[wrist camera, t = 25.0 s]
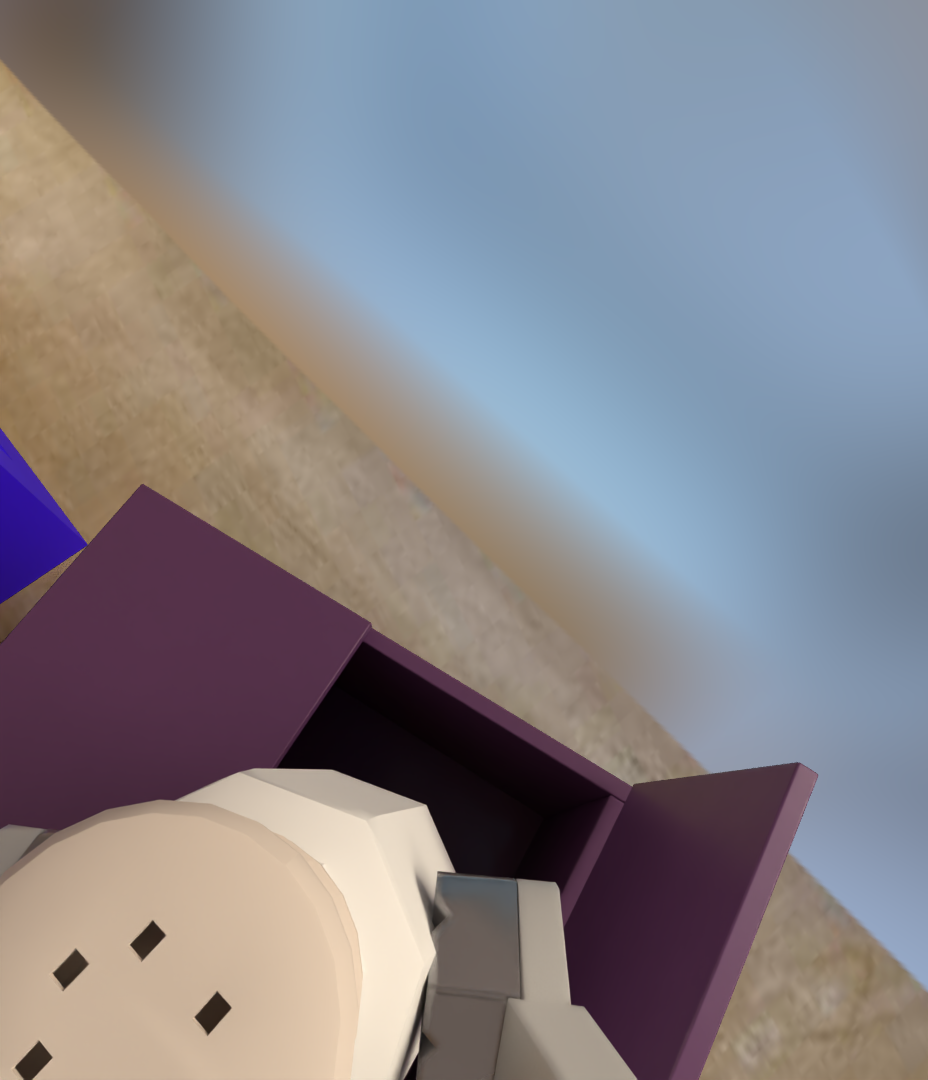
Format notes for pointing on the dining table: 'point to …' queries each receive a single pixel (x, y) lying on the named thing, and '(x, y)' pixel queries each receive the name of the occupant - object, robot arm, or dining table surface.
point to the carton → (268, 704)
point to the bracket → (29, 525)
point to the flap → (680, 910)
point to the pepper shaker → (224, 936)
